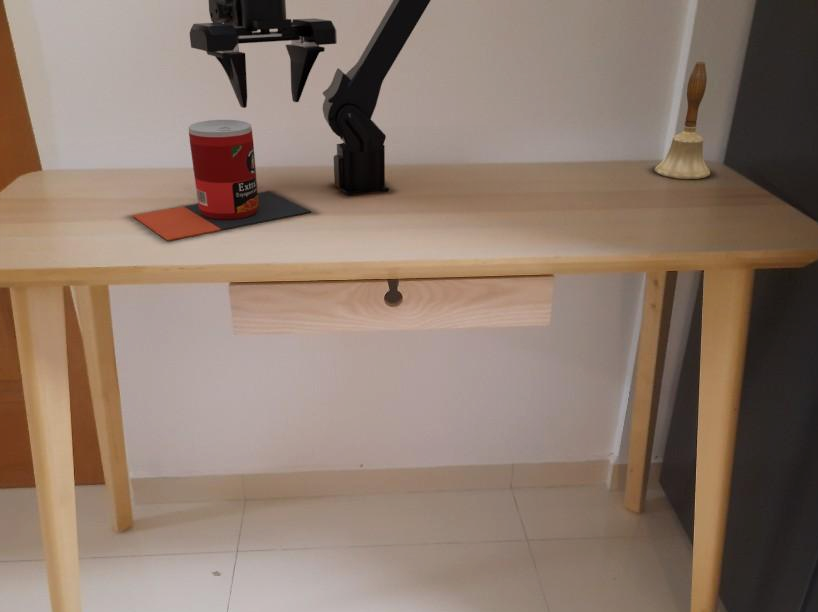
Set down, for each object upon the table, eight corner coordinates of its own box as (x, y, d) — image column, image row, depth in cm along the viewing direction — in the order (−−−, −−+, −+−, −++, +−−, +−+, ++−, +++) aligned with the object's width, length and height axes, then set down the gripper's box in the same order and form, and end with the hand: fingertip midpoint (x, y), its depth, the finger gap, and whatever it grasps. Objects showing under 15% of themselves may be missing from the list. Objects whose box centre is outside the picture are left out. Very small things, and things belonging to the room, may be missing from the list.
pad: (183, 207, 105) (183, 206, 105) (221, 230, 97) (221, 228, 97) (132, 216, 102) (132, 215, 101) (167, 241, 93) (167, 239, 93)
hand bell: (682, 182, 117) (703, 67, 108) (643, 169, 123) (660, 60, 115) (721, 175, 120) (745, 63, 112) (681, 164, 126) (701, 57, 118)
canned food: (247, 222, 99) (238, 132, 93) (189, 218, 100) (176, 130, 95) (267, 205, 105) (260, 120, 100) (212, 201, 107) (202, 118, 101)
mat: (269, 192, 112) (269, 191, 111) (311, 212, 103) (311, 211, 103) (183, 207, 105) (183, 206, 105) (221, 230, 97) (221, 228, 97)
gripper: (294, -29, 108) (300, 90, 116) (165, -28, 98) (181, 102, 106) (337, -27, 100) (340, 101, 108) (201, -26, 90) (216, 115, 98)
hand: (270, 104), depth 105 cm, fingers open, 8 cm apart
